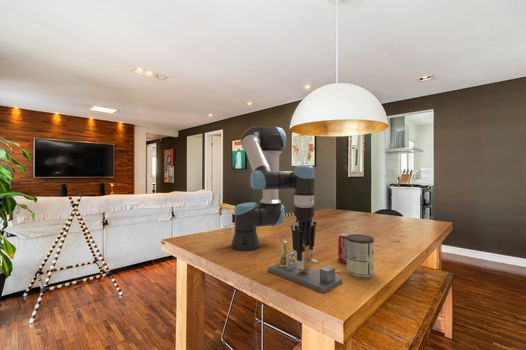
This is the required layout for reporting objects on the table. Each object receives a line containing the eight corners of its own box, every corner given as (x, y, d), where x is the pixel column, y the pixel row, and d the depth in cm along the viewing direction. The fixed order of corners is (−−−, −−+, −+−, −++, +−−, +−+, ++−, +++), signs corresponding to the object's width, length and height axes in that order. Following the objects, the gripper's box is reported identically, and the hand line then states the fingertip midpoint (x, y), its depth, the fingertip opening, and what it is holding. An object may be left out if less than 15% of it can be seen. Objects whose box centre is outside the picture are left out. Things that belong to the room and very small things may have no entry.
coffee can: (345, 266, 107) (345, 233, 107) (370, 268, 104) (371, 234, 104) (347, 276, 97) (347, 239, 97) (376, 278, 94) (376, 241, 94)
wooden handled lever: (286, 267, 98) (286, 243, 98) (295, 264, 102) (295, 240, 102) (313, 277, 89) (314, 250, 89) (322, 273, 93) (322, 247, 93)
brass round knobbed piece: (275, 265, 103) (275, 241, 103) (283, 262, 107) (283, 239, 107) (290, 271, 97) (291, 245, 97) (298, 267, 101) (299, 243, 101)
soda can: (357, 263, 110) (357, 236, 110) (342, 264, 109) (342, 236, 109) (349, 258, 117) (349, 232, 117) (335, 258, 116) (335, 233, 116)
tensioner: (319, 281, 88) (319, 268, 88) (327, 277, 91) (327, 265, 91) (327, 284, 86) (327, 271, 86) (334, 280, 89) (335, 267, 89)
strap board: (268, 270, 101) (268, 267, 101) (287, 263, 109) (287, 260, 109) (324, 293, 82) (324, 288, 82) (342, 282, 91) (342, 278, 91)
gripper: (299, 209, 87) (298, 276, 87) (324, 205, 99) (323, 264, 99) (282, 206, 93) (282, 270, 93) (308, 203, 104) (308, 260, 104)
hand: (303, 267), depth 96 cm, fingers closed on wooden handled lever, 3 cm apart
